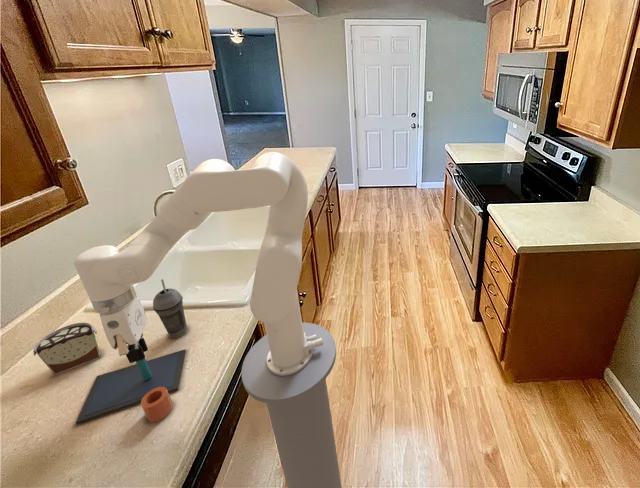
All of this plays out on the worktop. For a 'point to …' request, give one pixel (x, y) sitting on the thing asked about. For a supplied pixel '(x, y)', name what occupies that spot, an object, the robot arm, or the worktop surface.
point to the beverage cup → (171, 311)
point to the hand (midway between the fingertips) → (139, 355)
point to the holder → (156, 404)
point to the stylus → (144, 368)
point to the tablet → (131, 386)
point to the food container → (68, 347)
